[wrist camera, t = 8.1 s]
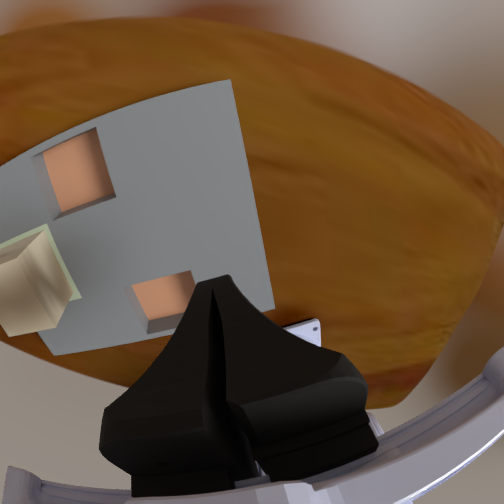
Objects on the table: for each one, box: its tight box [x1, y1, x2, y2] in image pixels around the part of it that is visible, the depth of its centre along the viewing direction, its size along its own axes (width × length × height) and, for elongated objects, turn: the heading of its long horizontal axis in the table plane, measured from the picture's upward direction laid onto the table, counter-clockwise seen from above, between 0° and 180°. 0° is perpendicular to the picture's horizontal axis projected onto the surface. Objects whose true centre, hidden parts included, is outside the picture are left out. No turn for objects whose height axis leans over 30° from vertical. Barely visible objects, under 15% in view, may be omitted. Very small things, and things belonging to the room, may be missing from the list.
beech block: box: [0, 230, 74, 337], centre depth 15 cm, size 5×5×4 cm
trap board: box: [0, 79, 275, 356], centre depth 18 cm, size 16×20×2 cm
